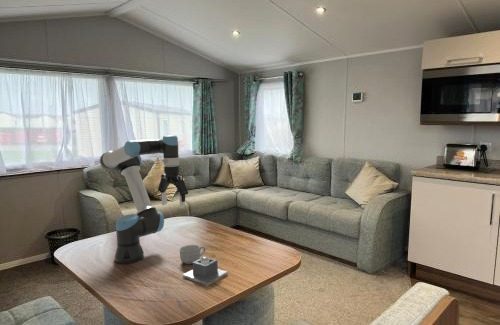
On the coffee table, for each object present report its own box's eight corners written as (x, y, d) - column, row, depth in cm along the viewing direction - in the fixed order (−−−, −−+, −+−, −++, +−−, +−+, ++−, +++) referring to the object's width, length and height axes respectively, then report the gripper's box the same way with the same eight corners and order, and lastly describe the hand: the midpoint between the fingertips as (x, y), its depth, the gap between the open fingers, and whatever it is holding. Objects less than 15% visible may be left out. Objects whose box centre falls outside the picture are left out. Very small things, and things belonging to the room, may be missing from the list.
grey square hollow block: (192, 274, 161) (192, 262, 160) (204, 267, 168) (204, 256, 167) (205, 278, 156) (205, 266, 156) (217, 271, 163) (217, 260, 162)
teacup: (180, 267, 172) (180, 252, 171) (179, 259, 183) (178, 245, 182) (207, 264, 176) (207, 249, 175) (204, 256, 186) (204, 242, 185)
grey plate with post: (183, 277, 161) (182, 258, 160) (203, 266, 173) (202, 249, 172) (207, 286, 152) (207, 266, 151) (227, 274, 163) (226, 255, 162)
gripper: (149, 165, 176) (151, 204, 179) (183, 168, 162) (184, 211, 165) (161, 163, 183) (162, 201, 185) (194, 166, 168) (195, 207, 171)
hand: (173, 206), depth 175 cm, fingers open, 13 cm apart
